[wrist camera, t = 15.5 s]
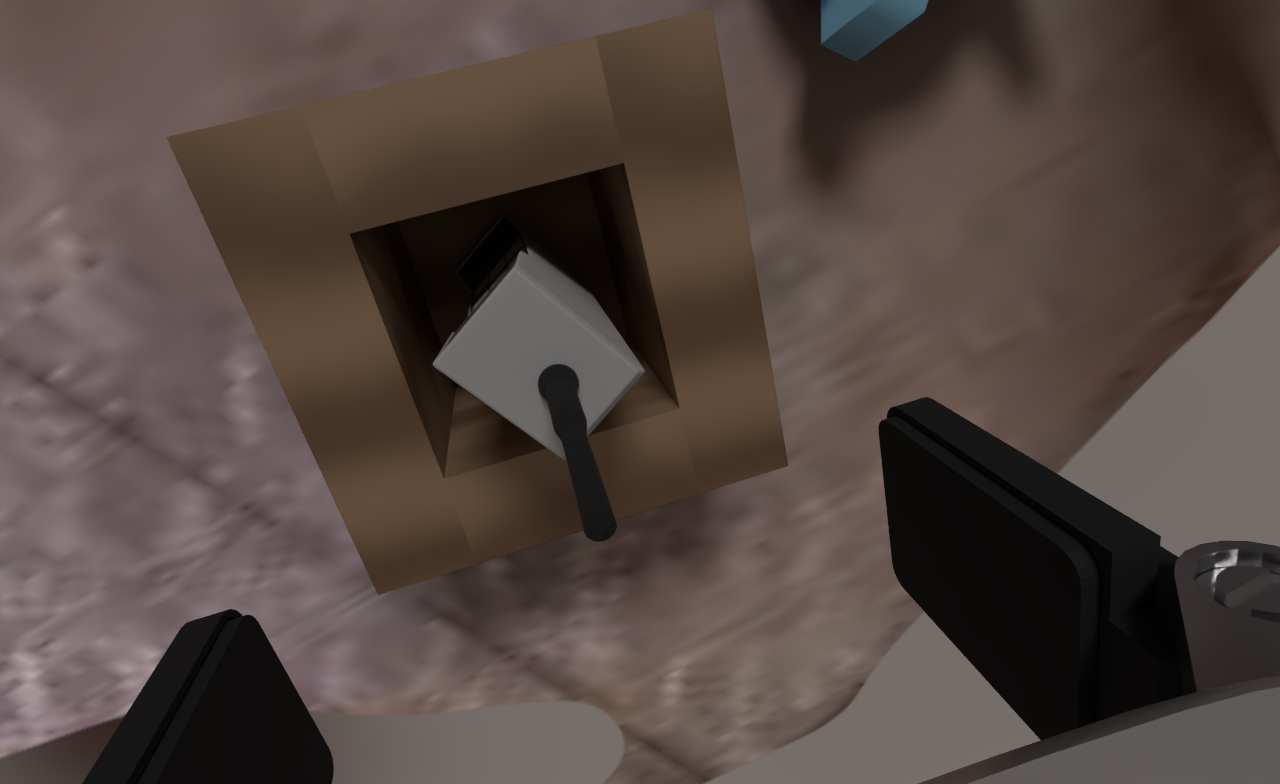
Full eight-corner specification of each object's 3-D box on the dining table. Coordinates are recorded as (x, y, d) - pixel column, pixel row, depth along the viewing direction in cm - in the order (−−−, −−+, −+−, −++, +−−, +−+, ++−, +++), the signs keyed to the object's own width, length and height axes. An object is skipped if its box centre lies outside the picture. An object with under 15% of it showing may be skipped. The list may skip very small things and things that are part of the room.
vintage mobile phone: (503, 210, 34) (535, 348, 11) (579, 275, 36) (744, 511, 13) (455, 268, 34) (390, 517, 11) (533, 329, 36) (612, 651, 13)
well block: (277, 139, 32) (166, 137, 21) (638, 53, 34) (711, 9, 23) (409, 465, 38) (377, 595, 27) (706, 377, 40) (788, 465, 29)
